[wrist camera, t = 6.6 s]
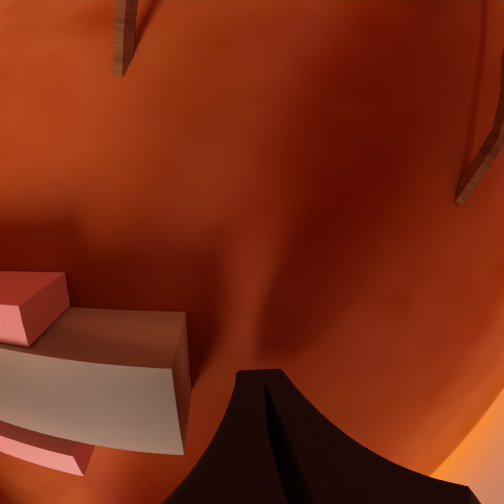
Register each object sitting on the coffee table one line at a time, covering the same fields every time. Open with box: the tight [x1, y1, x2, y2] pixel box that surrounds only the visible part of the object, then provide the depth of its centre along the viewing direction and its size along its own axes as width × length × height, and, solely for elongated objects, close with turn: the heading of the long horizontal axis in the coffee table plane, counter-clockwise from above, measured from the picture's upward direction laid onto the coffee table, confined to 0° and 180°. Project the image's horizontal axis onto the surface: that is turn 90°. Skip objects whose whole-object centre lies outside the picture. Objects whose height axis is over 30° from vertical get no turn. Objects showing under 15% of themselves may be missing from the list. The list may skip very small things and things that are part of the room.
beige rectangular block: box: [0, 307, 192, 455], centre depth 9 cm, size 3×9×4 cm, turn 89°
